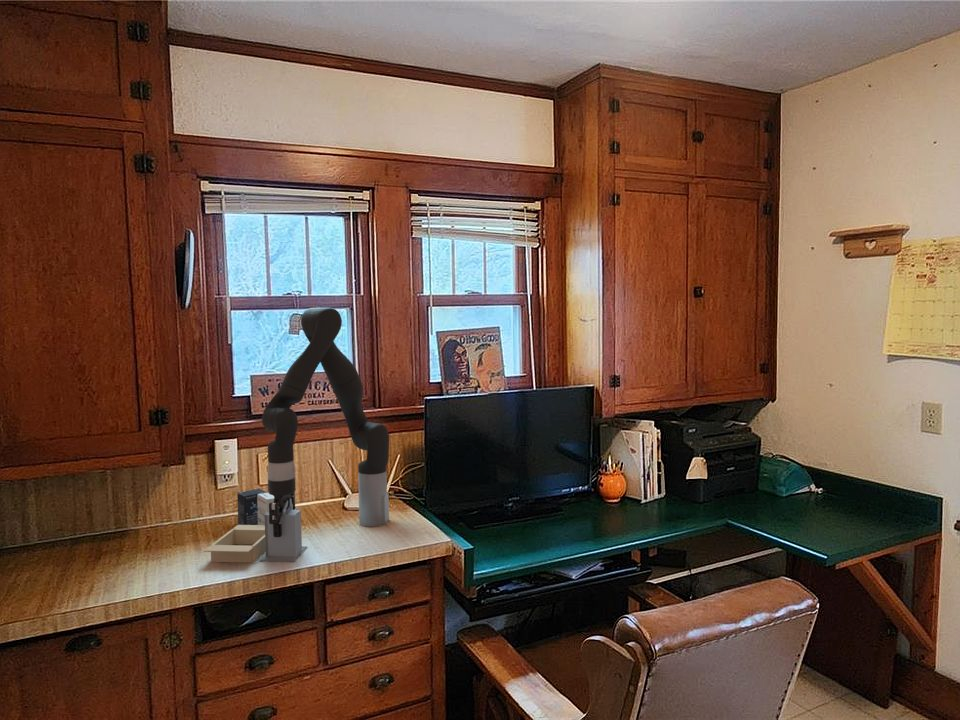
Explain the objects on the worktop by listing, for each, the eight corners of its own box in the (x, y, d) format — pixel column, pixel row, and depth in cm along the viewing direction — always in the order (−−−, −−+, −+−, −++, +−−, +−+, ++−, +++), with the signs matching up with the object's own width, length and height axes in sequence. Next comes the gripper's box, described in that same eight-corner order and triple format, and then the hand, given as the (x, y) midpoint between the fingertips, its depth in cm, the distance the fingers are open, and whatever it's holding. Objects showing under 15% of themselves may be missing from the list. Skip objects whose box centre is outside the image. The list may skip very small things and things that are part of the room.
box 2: (301, 550, 192) (300, 509, 191) (295, 556, 187) (294, 515, 186) (272, 549, 193) (271, 509, 192) (265, 556, 188) (264, 514, 187)
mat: (307, 547, 195) (307, 546, 195) (294, 562, 184) (294, 560, 184) (274, 547, 196) (274, 545, 196) (259, 561, 185) (259, 560, 185)
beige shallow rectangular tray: (278, 539, 202) (277, 525, 202) (249, 567, 181) (248, 551, 180) (238, 539, 203) (237, 524, 203) (204, 566, 181) (203, 550, 181)
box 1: (245, 527, 213) (244, 495, 213) (237, 523, 217) (236, 492, 217) (268, 522, 219) (267, 491, 218) (260, 518, 223) (259, 487, 222)
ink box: (283, 533, 208) (281, 496, 207) (267, 536, 205) (266, 499, 204) (272, 526, 214) (271, 490, 214) (257, 529, 211) (256, 493, 210)
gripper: (285, 483, 181) (287, 540, 182) (302, 470, 195) (304, 523, 196) (258, 482, 181) (260, 540, 183) (277, 470, 195) (279, 523, 197)
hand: (283, 531), depth 189 cm, fingers open, 8 cm apart
